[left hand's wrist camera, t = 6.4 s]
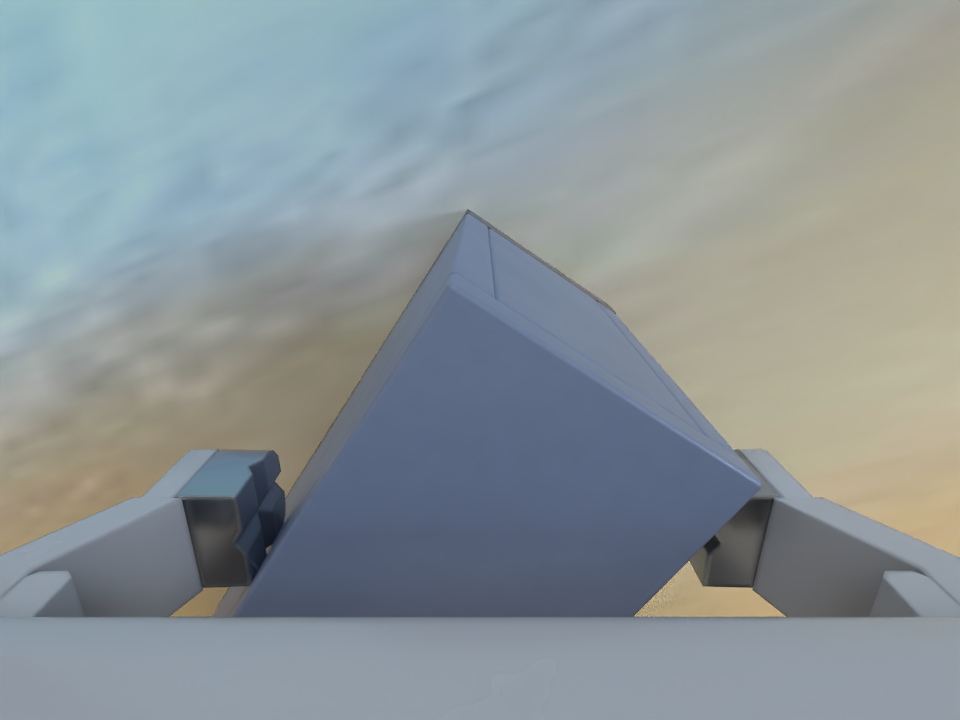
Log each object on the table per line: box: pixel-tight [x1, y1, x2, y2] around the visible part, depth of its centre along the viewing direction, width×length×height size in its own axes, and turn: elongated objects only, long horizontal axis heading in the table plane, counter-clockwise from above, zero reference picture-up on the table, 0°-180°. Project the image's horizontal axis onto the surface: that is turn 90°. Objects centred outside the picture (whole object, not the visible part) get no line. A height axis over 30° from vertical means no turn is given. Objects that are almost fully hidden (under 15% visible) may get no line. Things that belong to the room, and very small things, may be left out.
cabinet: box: [212, 210, 762, 617], centre depth 14 cm, size 17×5×10 cm, turn 147°
